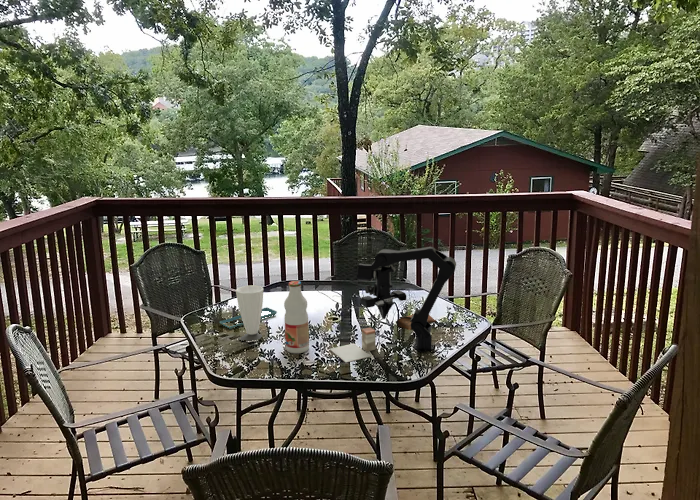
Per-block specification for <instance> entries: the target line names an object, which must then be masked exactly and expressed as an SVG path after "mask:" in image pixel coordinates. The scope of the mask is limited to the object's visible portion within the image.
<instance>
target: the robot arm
mask: <svg viewBox="0 0 700 500" xmlns="http://www.w3.org/2000/svg"><path fill="white" fill-rule="evenodd" d="M425 259H428V260H429V261H430V262H431V263H432V264H434V265H435V266H436V267H437V268H438V269H439V270H438V272H437V276H436V279H435V281H433V284H432V286H431V288H430V291H429V292H428V294H427V296H426V298H425V300H424V302H423V304H422V306H421V307H420V308H419V309H418V308H417V307H415V310H414V313H413V314H414V315H413V314H411V315H412V318H411V320H410V322H411V329H412V331H413V332H414V334H415V344H414V345H412V348H413V349H415V350H417V351H418V352H419V353H426V352H430V351H433V350H435V349H436V348H435V347H434V346H432V343H433V342H432V341H433V339H432V329H433V325H432V323H429V322H428V321H427V320H428V316H429V315H430V313H431V311H432V309H433V307H434V305H435V303H436V301H437V299H438V297H439V296H440V293H441V292H442V289H443V287H444V286H445V284H446V283H447V282H448V281H449V280H450V278H451V277H452V276H453V274H454V273H455V272H456V267H457V262H456V259H454V257H451V256H447V254H444V253H442V252H441V251H440V250H438V249H436V248H435V247H434V246H427V247H422V248H421V247H420V248H413V249H402V250H394V249H388V248H387V249H386V248H385V249H381V250H379V252H378V253H377V254H376V255H375V257H374V261H373V262H372V263H370V264H367V263H359V264H358V265H357V271H356V280H357V281H361V282H372V281H373V279H374V280H376V281H375V283H374V286H372V285H371V284H370V285H365V287H364V291H365V293H366V294H369V295H366V296H361V298H360V299H359V304H360V305H362V306H364V308H372V307H375V306H376V307H377V309H378V311H379V315H380V316H381V317H380V318H382V320H386V318H387V316H388V314H389V312H390V310H391V309H392V307H393V305H395V301H394V299H398V300H399V301H400V302H404V301H406V300H407V294H406V293H405V292H404V291H402V290H400V289H398V290H393V291H391V289H392V288H393V284H392V283H391V280H392V278H391V277H392V275H391V273H394V272H395V271H396V267H394V266H393V265H394V264H396V263H400V262H406V261H407V262H408V261H409V262H410V261H415V260H425ZM372 295H373V296H372Z"/></svg>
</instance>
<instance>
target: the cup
mask: <svg viewBox="0 0 700 500" xmlns="http://www.w3.org/2000/svg"><path fill="white" fill-rule="evenodd" d="M235 293H236V294H235V295H236V299H237V304H238V308H239V314H240V315H241V317H242V321H243V324H244V325H243V327H244V328H245V329H244V330H245V333H247V334H245V333H244V334H245V335H244V336H242V337H241V339H240V338H238V339H239V341H240V340H241V341H240V342H242V340H243V341H244V340H246V341H252V340H257V339H260V338H261V337H262V335H261V334H259V333H258V332H259V328H260V325H261V321H262V320H261V313H262V309H263V303H264V287H262V286H260V285H252V284H251V285H243V286H240V287H237V288H236V290H235Z"/></svg>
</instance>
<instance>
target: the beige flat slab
mask: <svg viewBox="0 0 700 500" xmlns="http://www.w3.org/2000/svg"><path fill="white" fill-rule="evenodd" d="M329 350H330V352H332V353H333V354H334V355H336V356H337V357H338V358H340V359H341V360H342V361H343V362H344V363H346V364H347V363H350V362H355V361H359V360H361V359H362V360H363V359H367V358H370V357H372V355H371V354H369V353H368V352H367V351H366V350H364V349H363V348H362V347H360V346H358V345H357V344H355V343H350V344H346V345H341V346H337V347H333V348H332V347H331V348H329Z"/></svg>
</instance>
